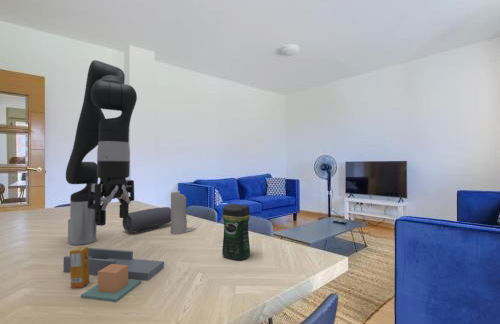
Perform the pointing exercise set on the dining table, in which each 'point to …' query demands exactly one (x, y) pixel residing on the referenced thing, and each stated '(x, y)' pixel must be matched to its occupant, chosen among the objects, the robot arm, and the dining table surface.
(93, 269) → the channel
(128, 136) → the robot arm
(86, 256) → the supplement box
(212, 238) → the dining table surface
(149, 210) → the bluetooth speaker
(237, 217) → the coffee jar
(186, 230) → the candle
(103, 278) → the block
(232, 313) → the dining table surface
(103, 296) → the pad
